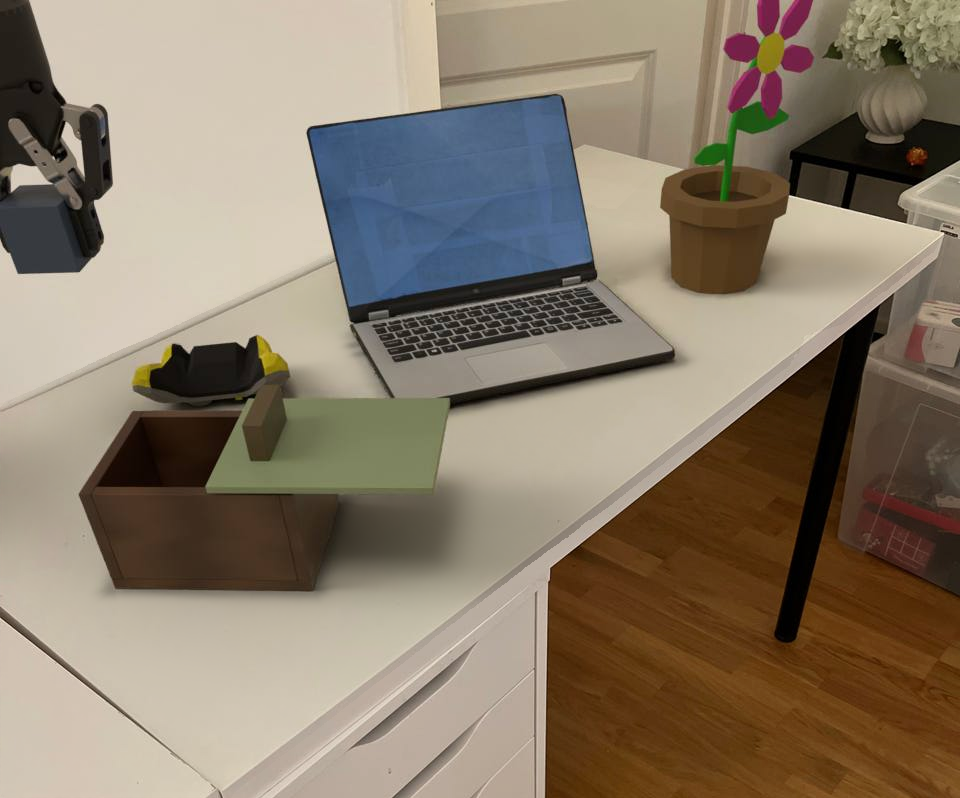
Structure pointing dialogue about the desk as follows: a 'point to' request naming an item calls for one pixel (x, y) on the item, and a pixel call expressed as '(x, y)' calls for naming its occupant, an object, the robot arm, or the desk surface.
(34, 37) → the robot arm
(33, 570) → the desk surface
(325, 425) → the cover
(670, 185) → the flowerpot
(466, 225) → the laptop
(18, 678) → the desk surface
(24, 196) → the block
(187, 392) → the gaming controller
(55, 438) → the desk surface
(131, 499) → the storage box
